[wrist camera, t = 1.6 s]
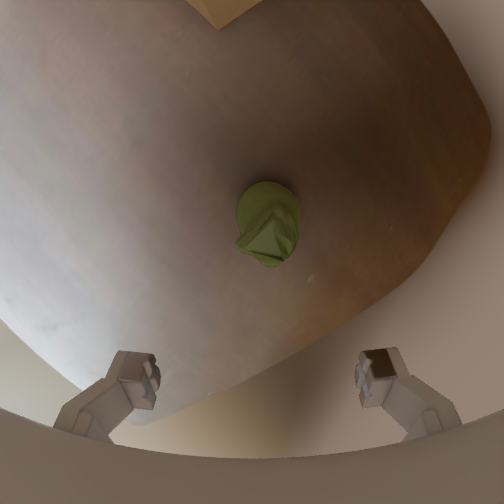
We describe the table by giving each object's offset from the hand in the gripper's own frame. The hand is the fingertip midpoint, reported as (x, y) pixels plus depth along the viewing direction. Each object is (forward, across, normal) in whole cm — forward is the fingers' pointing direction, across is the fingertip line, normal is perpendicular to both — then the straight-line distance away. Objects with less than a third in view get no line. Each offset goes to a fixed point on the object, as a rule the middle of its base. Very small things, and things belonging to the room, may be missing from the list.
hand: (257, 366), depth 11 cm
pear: (+20, -1, 0) cm, 21 cm away
